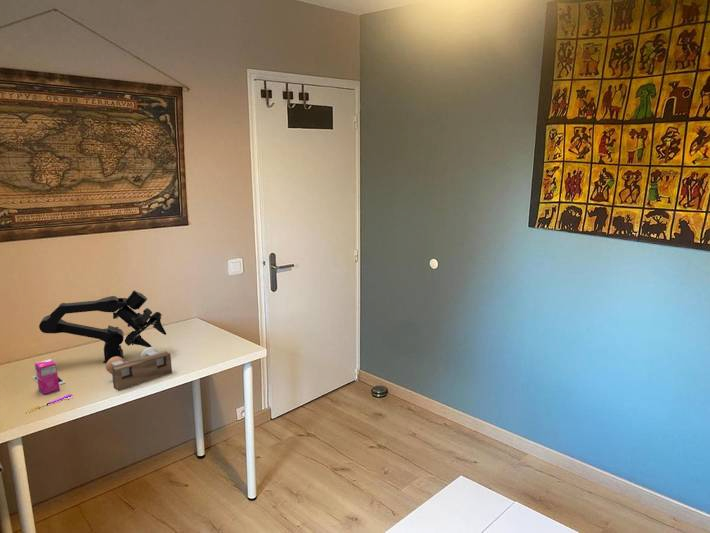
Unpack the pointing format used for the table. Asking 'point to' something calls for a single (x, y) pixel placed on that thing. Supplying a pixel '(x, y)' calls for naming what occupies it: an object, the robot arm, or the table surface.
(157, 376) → the panel
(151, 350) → the grey plunger
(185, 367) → the table surface
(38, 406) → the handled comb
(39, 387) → the supplement box
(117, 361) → the terracotta plunger
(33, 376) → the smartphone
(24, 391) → the table surface
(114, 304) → the robot arm
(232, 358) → the table surface
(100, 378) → the table surface
